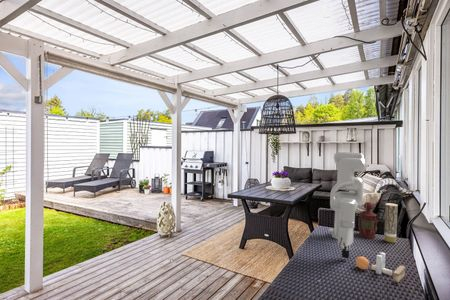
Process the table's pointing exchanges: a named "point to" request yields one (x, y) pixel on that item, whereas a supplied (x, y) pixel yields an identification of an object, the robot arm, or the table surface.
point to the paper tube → (390, 222)
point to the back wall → (399, 274)
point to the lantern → (367, 221)
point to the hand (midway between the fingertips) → (345, 257)
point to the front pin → (385, 271)
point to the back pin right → (379, 264)
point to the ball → (362, 262)
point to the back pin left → (383, 259)
